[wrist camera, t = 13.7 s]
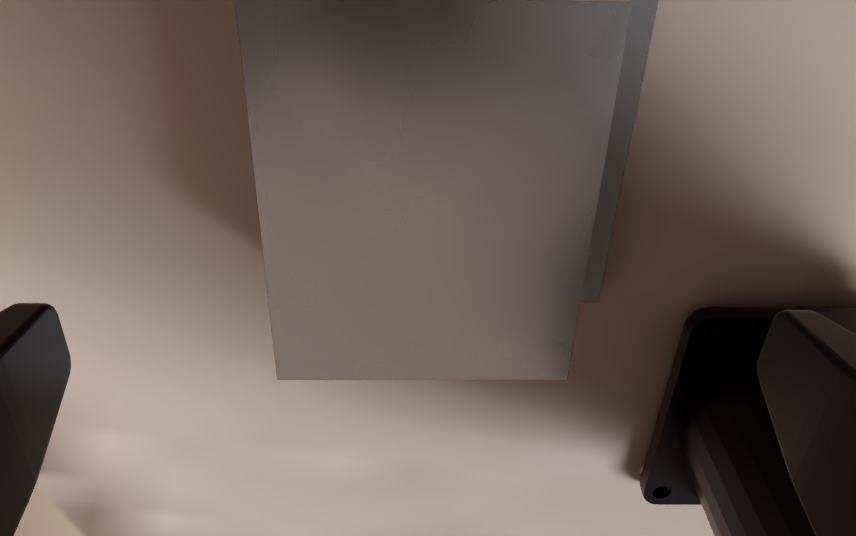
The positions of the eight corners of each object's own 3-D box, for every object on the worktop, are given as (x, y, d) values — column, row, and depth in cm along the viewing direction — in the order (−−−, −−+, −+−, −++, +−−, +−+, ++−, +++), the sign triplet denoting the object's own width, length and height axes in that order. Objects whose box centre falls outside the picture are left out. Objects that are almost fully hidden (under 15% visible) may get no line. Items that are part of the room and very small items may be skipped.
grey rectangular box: (542, 290, 17) (567, 379, 14) (296, 288, 16) (277, 379, 14) (587, -42, 13) (632, 1, 10) (266, -50, 13) (233, -8, 10)
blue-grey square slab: (594, 292, 17) (598, 301, 17) (291, 287, 17) (289, 298, 17) (655, -26, 13) (662, -20, 13) (265, -38, 13) (261, -34, 13)
